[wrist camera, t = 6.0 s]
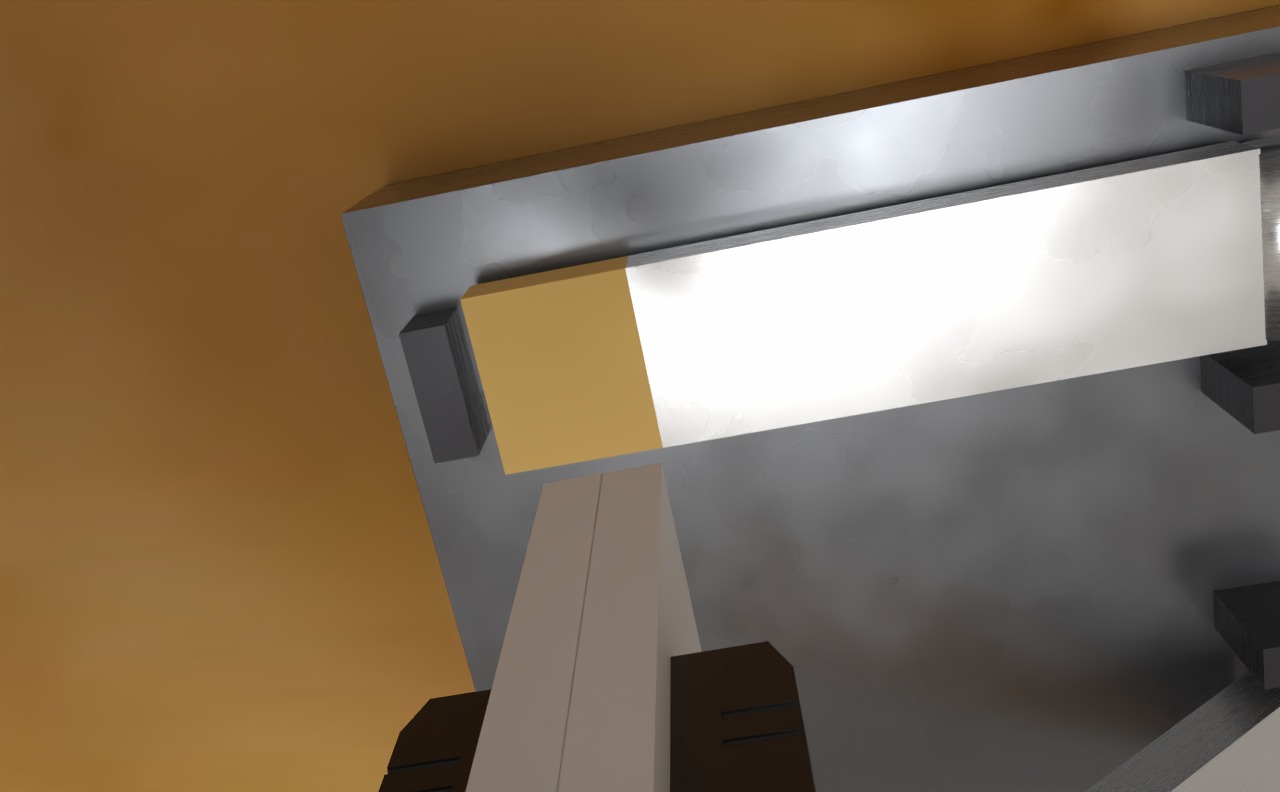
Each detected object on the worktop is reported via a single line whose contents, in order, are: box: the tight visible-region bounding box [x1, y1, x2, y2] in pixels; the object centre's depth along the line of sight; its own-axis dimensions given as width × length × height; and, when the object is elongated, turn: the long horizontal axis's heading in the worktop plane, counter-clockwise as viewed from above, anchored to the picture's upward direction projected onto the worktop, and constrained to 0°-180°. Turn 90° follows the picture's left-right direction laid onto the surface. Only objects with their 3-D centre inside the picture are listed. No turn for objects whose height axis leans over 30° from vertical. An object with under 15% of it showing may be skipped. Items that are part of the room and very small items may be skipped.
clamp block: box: [341, 5, 1280, 792], centre depth 28 cm, size 20×22×7 cm
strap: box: [460, 136, 1280, 475], centre depth 25 cm, size 17×4×2 cm, turn 101°
